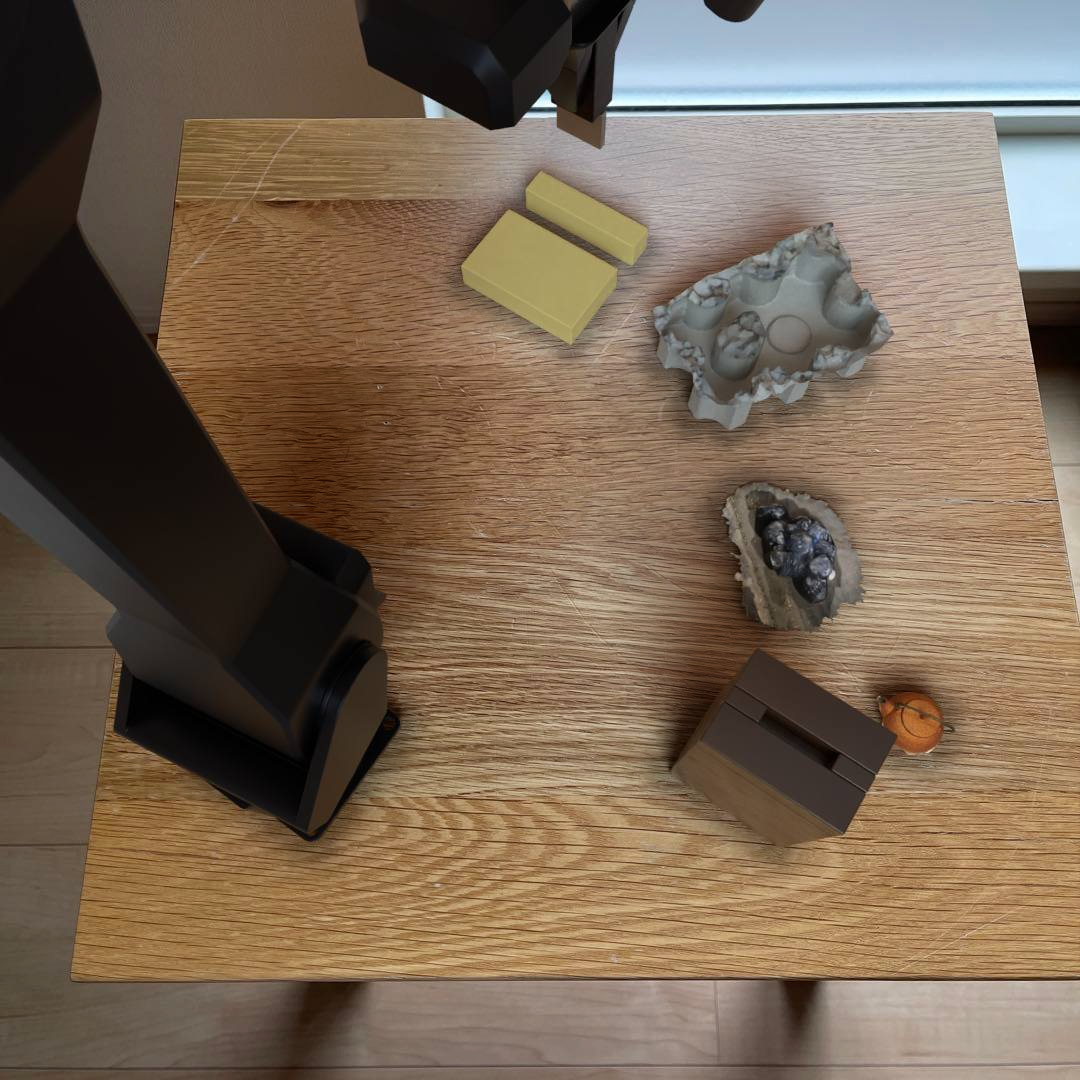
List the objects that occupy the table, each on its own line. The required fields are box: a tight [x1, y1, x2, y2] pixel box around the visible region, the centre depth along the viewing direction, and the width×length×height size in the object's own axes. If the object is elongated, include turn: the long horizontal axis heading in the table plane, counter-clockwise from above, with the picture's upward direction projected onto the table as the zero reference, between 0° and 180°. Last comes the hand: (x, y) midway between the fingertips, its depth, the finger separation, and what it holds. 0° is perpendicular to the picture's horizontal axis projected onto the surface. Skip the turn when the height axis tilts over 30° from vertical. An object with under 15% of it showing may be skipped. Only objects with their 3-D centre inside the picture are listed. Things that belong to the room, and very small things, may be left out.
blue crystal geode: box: [721, 481, 867, 634], centre depth 44 cm, size 7×8×2 cm
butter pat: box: [525, 170, 650, 267], centre depth 51 cm, size 2×7×2 cm, turn 56°
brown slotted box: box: [668, 647, 898, 848], centre depth 37 cm, size 4×6×10 cm
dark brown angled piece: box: [550, 17, 618, 151], centre depth 39 cm, size 2×2×8 cm
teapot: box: [876, 691, 956, 756], centre depth 41 cm, size 3×3×3 cm
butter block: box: [460, 208, 619, 346], centre depth 50 cm, size 4×7×2 cm, turn 56°
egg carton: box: [648, 221, 895, 431], centre depth 47 cm, size 11×8×4 cm
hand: (580, 91), depth 41 cm, fingers closed on dark brown angled piece, 1 cm apart
